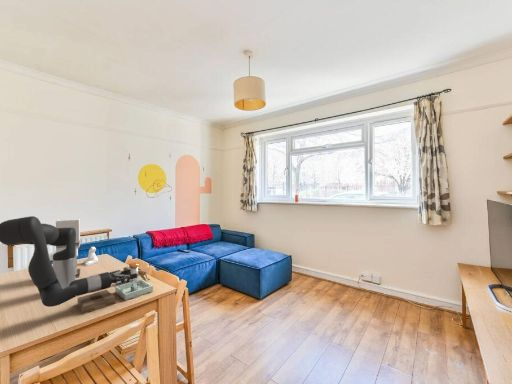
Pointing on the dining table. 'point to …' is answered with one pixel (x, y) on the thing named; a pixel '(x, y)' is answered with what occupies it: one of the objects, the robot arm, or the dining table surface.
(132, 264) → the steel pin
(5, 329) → the dining table surface
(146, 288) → the tray
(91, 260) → the sitting furry creature
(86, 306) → the block
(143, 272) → the lion figurine
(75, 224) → the tall grey pillar
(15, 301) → the dining table surface
